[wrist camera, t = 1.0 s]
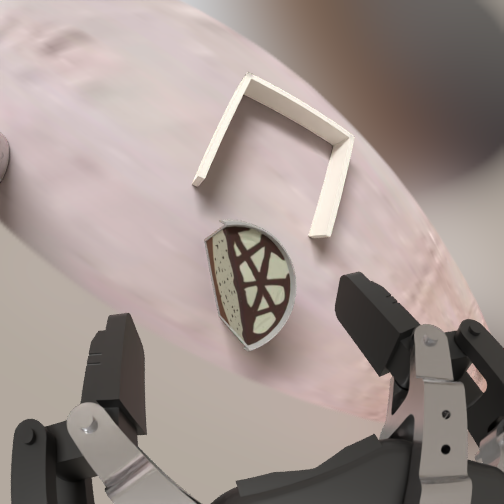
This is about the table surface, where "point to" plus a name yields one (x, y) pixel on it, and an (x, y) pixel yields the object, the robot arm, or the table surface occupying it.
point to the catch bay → (308, 120)
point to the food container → (250, 281)
